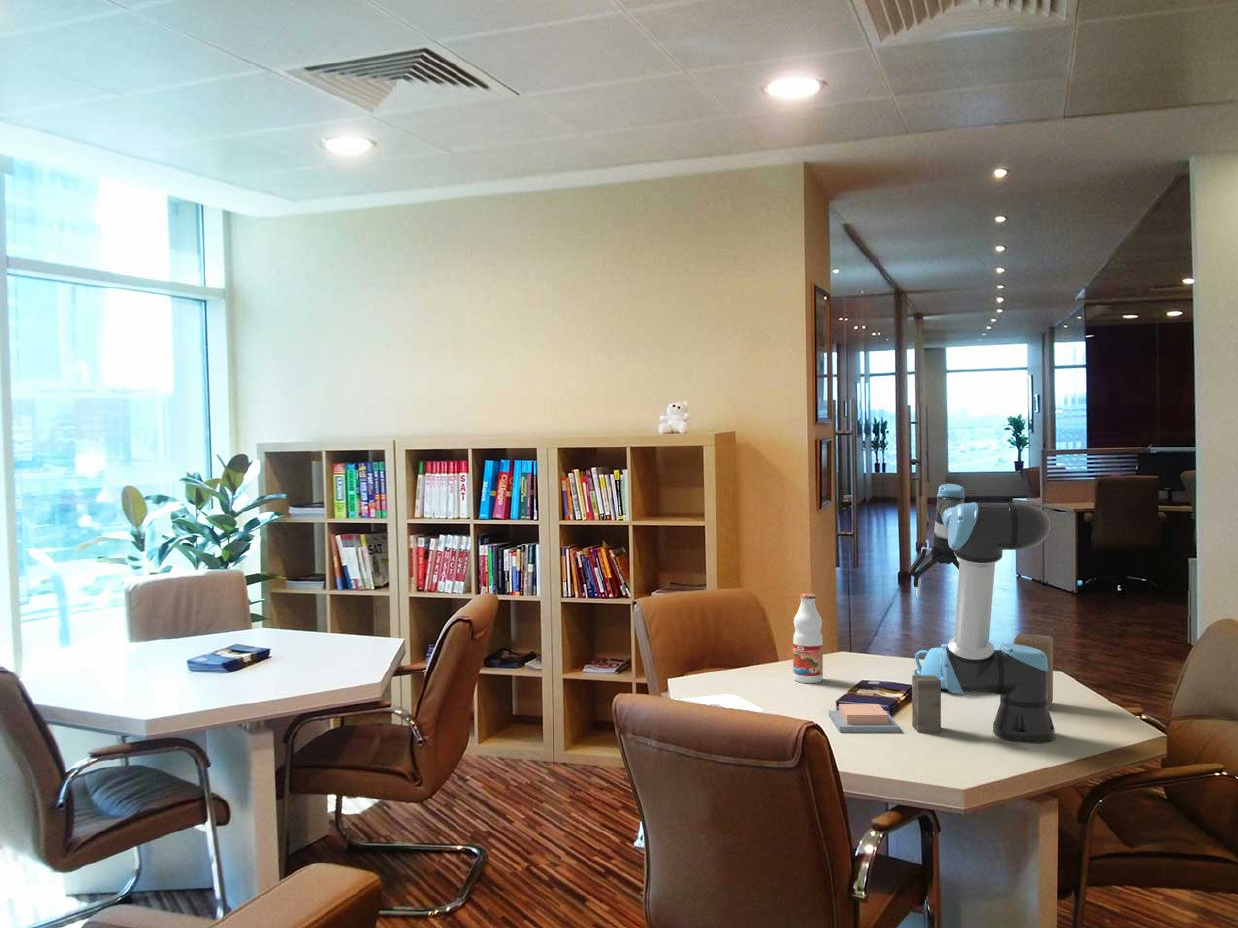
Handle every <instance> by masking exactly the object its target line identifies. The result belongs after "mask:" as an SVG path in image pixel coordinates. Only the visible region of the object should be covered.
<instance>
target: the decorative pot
mask: <svg viewBox="0 0 1238 928" xmlns="http://www.w3.org/2000/svg"><path fill="white" fill-rule="evenodd" d="M944 648H947V649H948V643H942V644H941V645H940V647H932V648H930V649H929V650H926V649H922V650H919V651H917V652H916V653H915V655H914V658H915V659H914V660H915V663H916V666H917V667H915V668H914V670H913V675H935V676H936V677H937V678H938V679H940V680H941V689H942V690H943V689H944V690H947V688H946V686H945V681H944V676H943V670H942V663H941V649H944ZM922 654H923V655H926V656H925V657H924V659H923V662H922V664H921V662H920V659H919V656H920V655H922ZM917 671H918V672H917Z"/></svg>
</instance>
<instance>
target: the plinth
mask: <svg viewBox="0 0 1238 928" xmlns="http://www.w3.org/2000/svg"><path fill="white" fill-rule="evenodd" d="M828 717H829V718H830V720H831V721H832V723H833V724H834V726H835V727H836V729H837V731H838V732H839V733H901V730H900V729H901V726H900V725H899V724H898V723H897V722H896V721H895V719H894V718H893V717H892V716H891V715H890V714H889V712H887V710H884V709H883V707H882V706H881V705H880V704H878V703H839V704H838V710H828Z"/></svg>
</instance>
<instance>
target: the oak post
mask: <svg viewBox="0 0 1238 928" xmlns="http://www.w3.org/2000/svg"><path fill="white" fill-rule="evenodd" d="M911 682H912V683H911V686H912V687H911V689H912V691H911V693H912V694H911V703H912V705H911V715H912V717H911V718H912V719H911V720H912V722H911V725H912V728H913V729H914V730H915V731H916V732H917V733H919V734H920V733H925V734H927V733H929V734H930V733H933V734H934V733H935V734H940V733H942V688H941V680H940V679H938V678H937V677H936V676H935V675H914V674H913V675H911Z"/></svg>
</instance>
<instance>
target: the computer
mask: <svg viewBox="0 0 1238 928" xmlns="http://www.w3.org/2000/svg"><path fill="white" fill-rule="evenodd" d="M676 700H685V701H690V702H695V703H700V704H706V705H712V706H718V707H725V708H734V709H743V710H750V711H755V712H761V713H764V714H765V712H764V709H763V708H761V707H759V706H757V705H755V704H753V703H752V702H750V701H747V700H746V699H745V698H742V697H739V695H734V694H728V693H726V694H716V695H715V694H714V695H707V696H705V695H704V696H697V697H696V696H695V697H688V698H687V697H686V698H678V699H677V698H676Z"/></svg>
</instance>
